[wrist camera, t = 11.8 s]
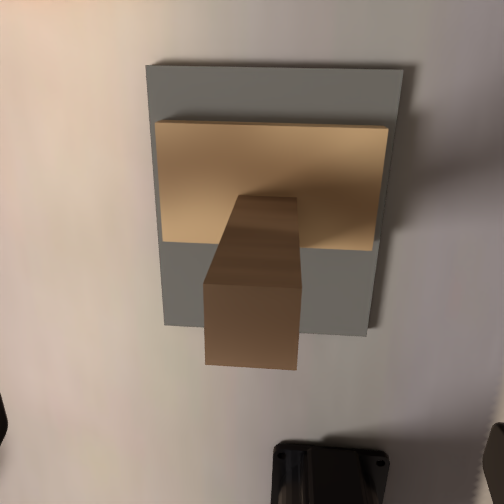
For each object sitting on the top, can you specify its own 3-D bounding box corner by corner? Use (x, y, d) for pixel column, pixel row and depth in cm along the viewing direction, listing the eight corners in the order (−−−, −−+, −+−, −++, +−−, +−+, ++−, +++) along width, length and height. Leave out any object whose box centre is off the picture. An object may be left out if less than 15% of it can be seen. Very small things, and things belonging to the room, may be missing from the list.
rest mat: (364, 329, 22) (366, 336, 21) (167, 318, 22) (164, 325, 22) (400, 69, 17) (403, 69, 17) (149, 65, 18) (145, 65, 17)
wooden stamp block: (367, 246, 19) (425, 379, 11) (168, 237, 20) (84, 357, 12) (383, 125, 17) (468, 178, 9) (161, 119, 18) (52, 164, 10)
